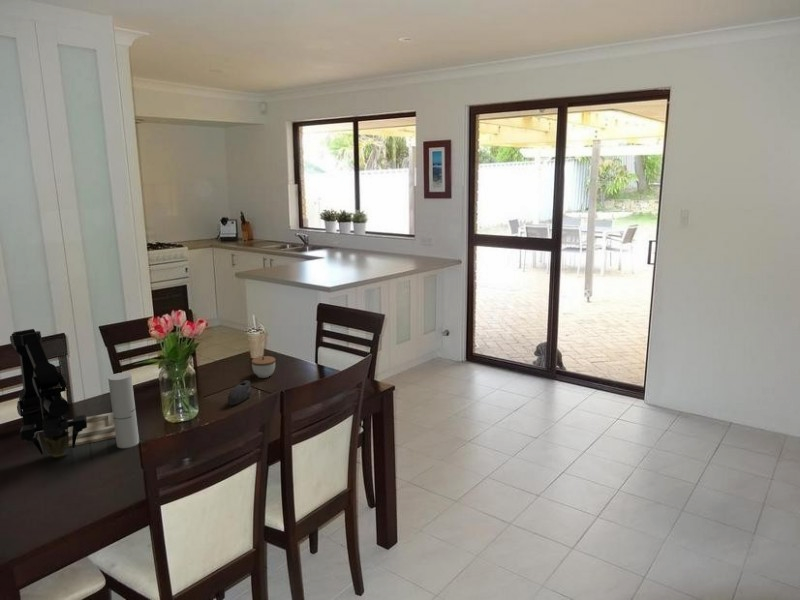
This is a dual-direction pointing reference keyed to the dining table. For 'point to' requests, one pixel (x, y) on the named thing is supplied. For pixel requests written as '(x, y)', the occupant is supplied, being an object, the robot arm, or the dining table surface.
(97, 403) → the dining table surface
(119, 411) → the cylindrical container
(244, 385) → the perforated stone tool
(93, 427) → the docking plate
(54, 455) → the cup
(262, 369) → the lidded jar
